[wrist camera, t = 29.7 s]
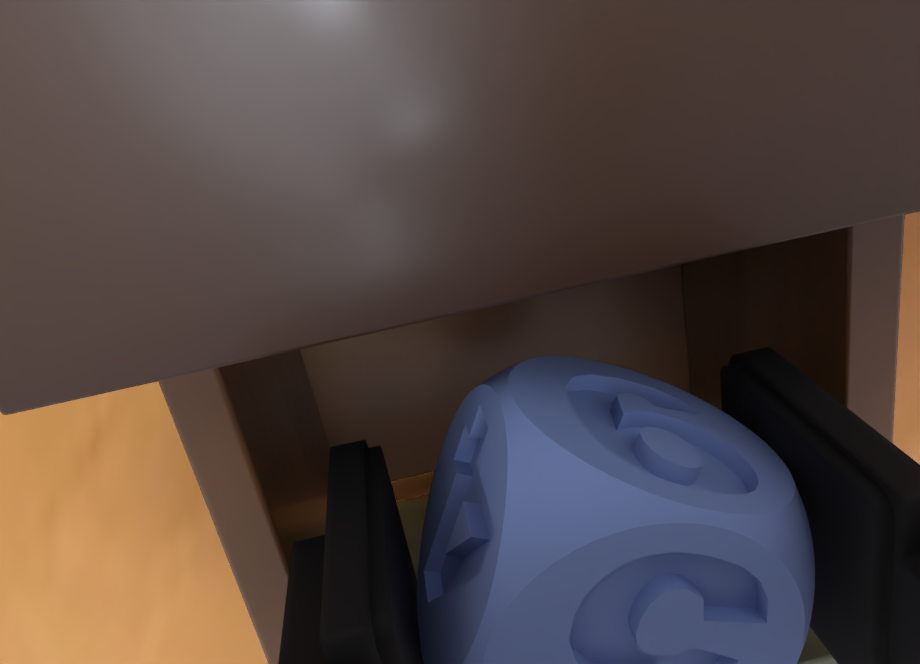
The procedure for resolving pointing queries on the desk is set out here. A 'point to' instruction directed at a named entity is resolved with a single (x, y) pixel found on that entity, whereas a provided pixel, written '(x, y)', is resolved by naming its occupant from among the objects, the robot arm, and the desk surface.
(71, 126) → the cabinet
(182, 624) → the desk surface
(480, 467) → the decorative dice
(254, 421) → the drawer
